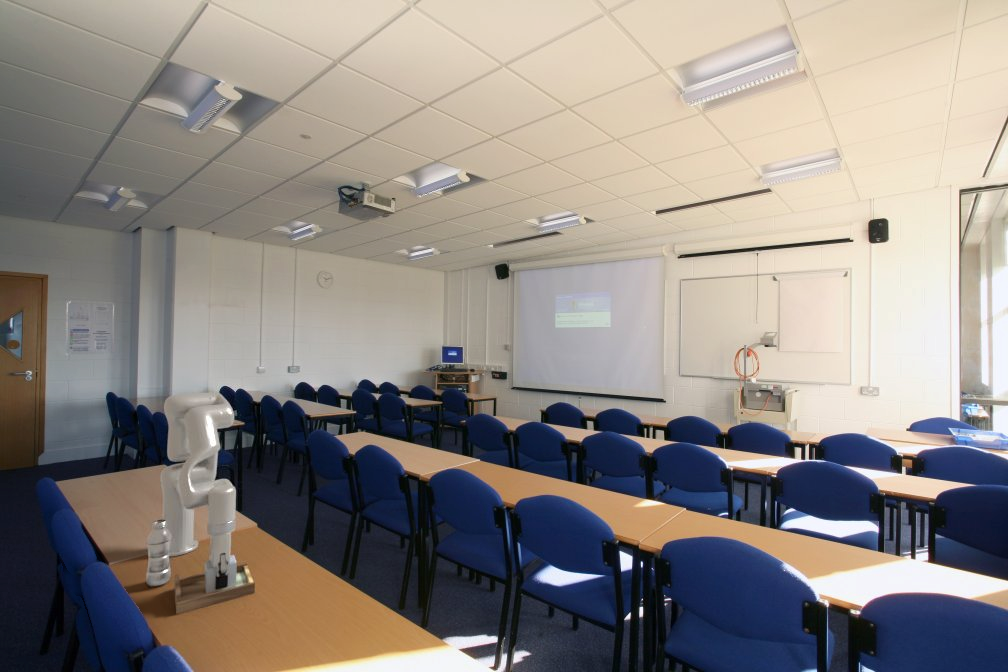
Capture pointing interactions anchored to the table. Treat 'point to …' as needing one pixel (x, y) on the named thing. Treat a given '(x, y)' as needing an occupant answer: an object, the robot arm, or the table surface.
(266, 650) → the table surface
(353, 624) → the table surface
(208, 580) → the grey block
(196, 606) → the bay
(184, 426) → the robot arm
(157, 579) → the plastic bottle
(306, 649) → the table surface
